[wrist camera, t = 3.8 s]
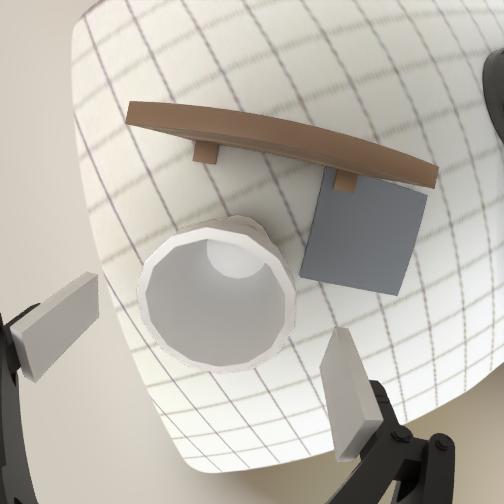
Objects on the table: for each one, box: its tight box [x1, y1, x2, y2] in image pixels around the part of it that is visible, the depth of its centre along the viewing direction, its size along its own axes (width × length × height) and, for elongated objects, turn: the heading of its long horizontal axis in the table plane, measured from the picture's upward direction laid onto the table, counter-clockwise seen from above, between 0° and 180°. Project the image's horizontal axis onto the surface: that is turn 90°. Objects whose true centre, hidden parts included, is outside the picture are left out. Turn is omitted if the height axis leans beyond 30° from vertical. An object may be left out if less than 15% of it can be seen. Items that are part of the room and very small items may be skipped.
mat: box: [300, 166, 428, 296], centre depth 28 cm, size 11×11×1 cm
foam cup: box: [136, 215, 296, 374], centre depth 23 cm, size 10×9×13 cm
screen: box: [125, 101, 439, 194], centre depth 19 cm, size 5×16×14 cm, turn 79°
